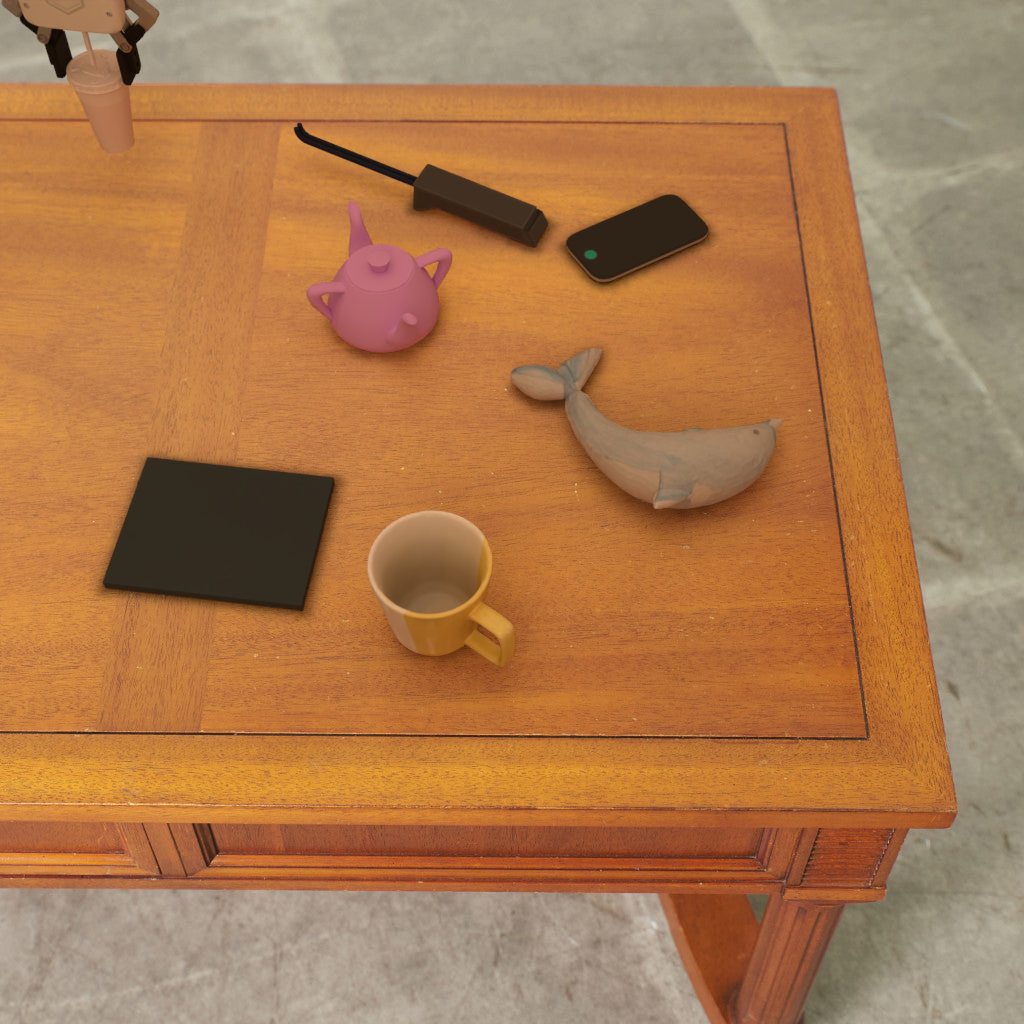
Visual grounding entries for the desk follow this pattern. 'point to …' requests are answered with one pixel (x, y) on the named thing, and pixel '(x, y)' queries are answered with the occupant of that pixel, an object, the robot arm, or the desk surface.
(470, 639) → the mug
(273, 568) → the mat
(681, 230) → the smartphone
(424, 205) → the hook tool
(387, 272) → the teapot
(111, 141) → the smoothie
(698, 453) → the sculpture
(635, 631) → the desk surface
